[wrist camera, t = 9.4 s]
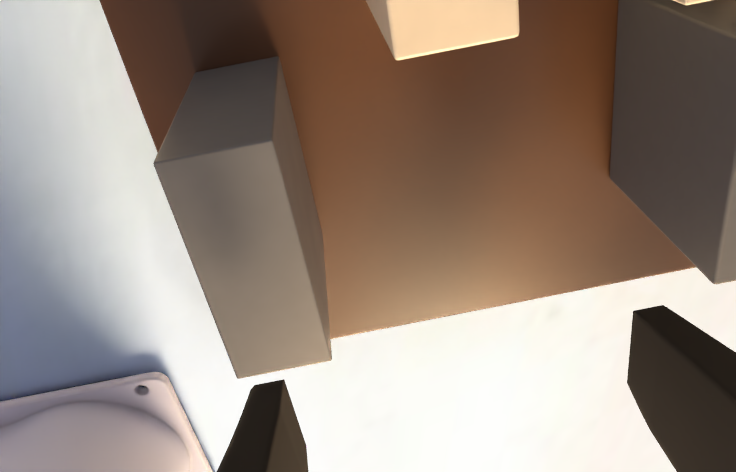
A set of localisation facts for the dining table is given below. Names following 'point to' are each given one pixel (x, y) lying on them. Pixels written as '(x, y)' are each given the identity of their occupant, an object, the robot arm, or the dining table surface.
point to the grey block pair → (298, 211)
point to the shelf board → (427, 148)
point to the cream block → (690, 1)
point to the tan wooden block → (443, 24)
